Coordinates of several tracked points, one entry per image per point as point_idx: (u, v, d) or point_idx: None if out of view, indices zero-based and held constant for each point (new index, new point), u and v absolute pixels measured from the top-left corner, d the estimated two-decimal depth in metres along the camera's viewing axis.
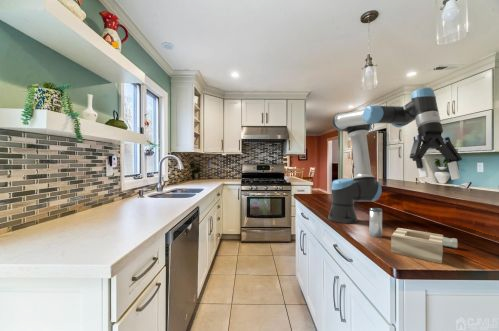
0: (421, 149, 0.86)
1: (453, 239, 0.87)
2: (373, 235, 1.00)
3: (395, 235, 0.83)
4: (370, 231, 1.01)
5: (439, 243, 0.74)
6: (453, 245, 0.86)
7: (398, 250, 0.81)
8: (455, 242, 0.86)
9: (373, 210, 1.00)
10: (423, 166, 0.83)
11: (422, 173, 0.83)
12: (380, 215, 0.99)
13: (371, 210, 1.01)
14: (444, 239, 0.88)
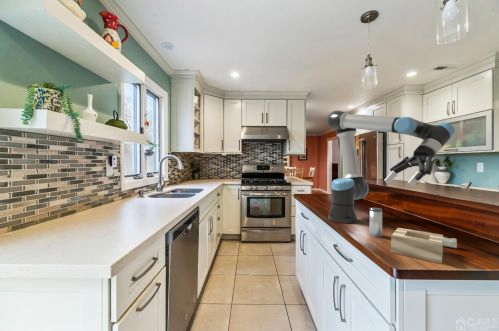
0: (423, 166, 0.99)
1: (452, 239, 0.87)
2: (373, 235, 1.00)
3: (395, 235, 0.83)
4: (370, 231, 1.01)
5: (439, 243, 0.74)
6: (452, 245, 0.86)
7: (398, 250, 0.81)
8: (454, 242, 0.86)
9: (373, 210, 1.00)
10: (418, 180, 0.96)
11: (413, 182, 0.96)
12: (380, 215, 0.99)
13: (371, 210, 1.01)
14: (443, 239, 0.88)
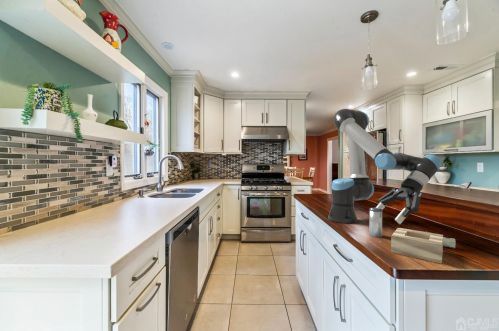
0: (410, 202, 0.96)
1: (451, 239, 0.87)
2: (373, 235, 1.00)
3: (395, 235, 0.83)
4: (370, 231, 1.01)
5: (439, 243, 0.74)
6: (451, 245, 0.86)
7: (398, 250, 0.81)
8: (453, 242, 0.86)
9: (373, 210, 1.00)
10: (405, 216, 0.94)
11: (400, 219, 0.94)
12: (380, 215, 0.99)
13: (371, 210, 1.01)
14: None
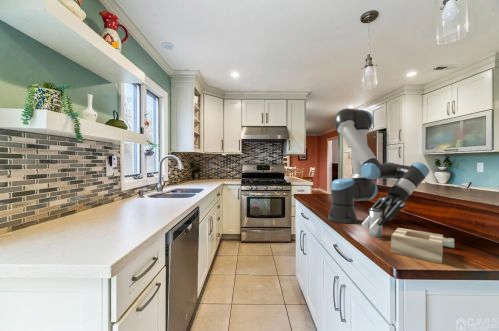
0: (389, 210, 0.99)
1: (450, 239, 0.87)
2: (373, 235, 1.00)
3: (395, 235, 0.83)
4: (370, 231, 1.01)
5: (439, 243, 0.74)
6: (450, 245, 0.86)
7: (398, 250, 0.81)
8: (452, 242, 0.86)
9: (373, 210, 1.00)
10: None
11: (374, 228, 0.98)
12: None
13: (371, 210, 1.01)
14: None
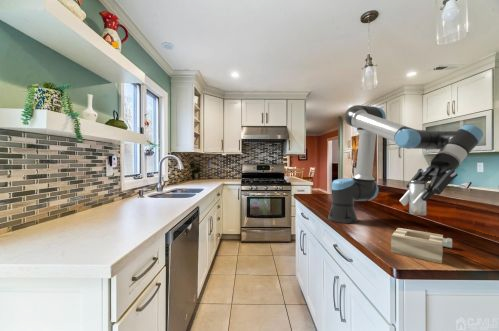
0: (436, 182, 0.80)
1: (448, 239, 0.87)
2: (415, 213, 0.81)
3: (395, 235, 0.83)
4: (411, 208, 0.82)
5: (439, 243, 0.74)
6: (448, 245, 0.86)
7: (398, 250, 0.81)
8: (450, 242, 0.86)
9: (415, 182, 0.81)
10: None
11: (418, 203, 0.79)
12: (424, 188, 0.81)
13: (413, 182, 0.82)
14: None
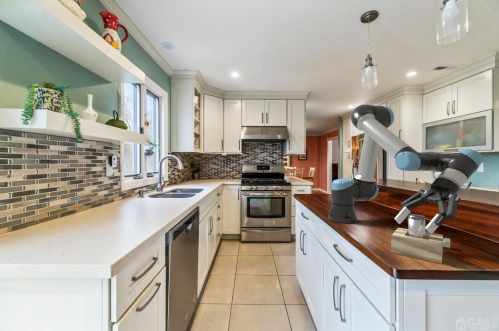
0: (444, 206, 0.78)
1: (446, 239, 0.87)
2: None
3: (395, 235, 0.83)
4: None
5: (439, 243, 0.74)
6: (445, 245, 0.86)
7: (398, 250, 0.81)
8: (447, 242, 0.86)
9: (414, 218, 0.81)
10: None
11: (431, 228, 0.76)
12: (423, 224, 0.81)
13: (411, 218, 0.82)
14: None
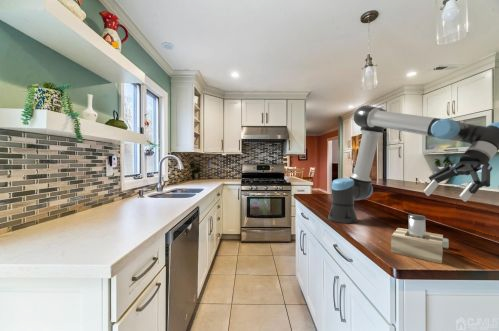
0: (477, 176, 0.80)
1: (444, 239, 0.87)
2: None
3: (395, 235, 0.83)
4: None
5: (439, 243, 0.74)
6: (444, 245, 0.86)
7: (398, 250, 0.81)
8: (446, 242, 0.86)
9: (414, 218, 0.81)
10: (472, 193, 0.78)
11: (466, 196, 0.77)
12: (423, 224, 0.81)
13: (411, 218, 0.82)
14: None
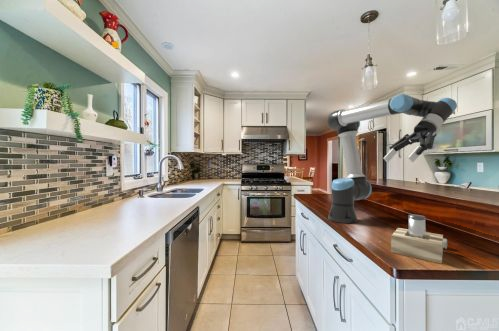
0: (424, 141, 0.95)
1: None
2: None
3: (395, 235, 0.83)
4: None
5: (439, 243, 0.74)
6: None
7: (398, 250, 0.81)
8: (444, 242, 0.86)
9: (414, 218, 0.81)
10: (418, 155, 0.92)
11: (413, 157, 0.92)
12: (423, 224, 0.81)
13: (411, 218, 0.82)
14: None
